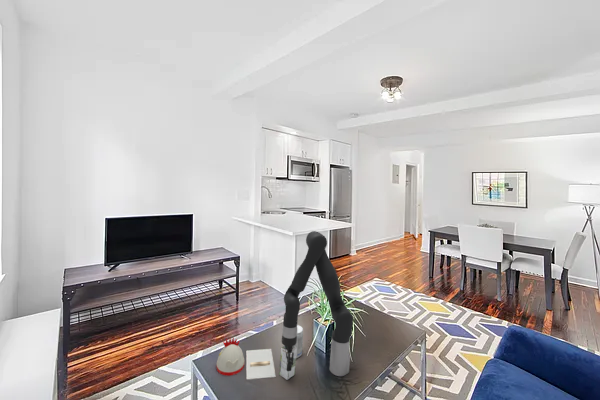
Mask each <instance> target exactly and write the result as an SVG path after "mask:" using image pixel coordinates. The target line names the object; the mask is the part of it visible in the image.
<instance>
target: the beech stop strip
mask: <svg viewBox="0 0 600 400" xmlns="http://www.w3.org/2000/svg"><path fill="white" fill-rule="evenodd" d="M266 365H270V361H264V362H251V363H250V367H253V366H266Z"/></svg>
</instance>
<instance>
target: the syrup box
mask: <svg viewBox="0 0 600 400" xmlns="http://www.w3.org/2000/svg"><path fill="white" fill-rule="evenodd" d="M285 348H287V347H285V346H284V345H283V346H282V347H281V348H280V358H279V359H280V360H279V370H278V371H279V373H278V374H279V376H280V377H282V378H283V379H285V380H287V381H289V380H290V379H291V378H292V377H293V376H295V374H296V364H297V358H296V354H297V348H296V347H295V346H293V350H292V352H293V353H294V357H293V365H292V367H291V371H287V359H286V352H287V350H286V352H285ZM287 356H288V353H287Z"/></svg>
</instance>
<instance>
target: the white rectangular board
mask: <svg viewBox="0 0 600 400" xmlns="http://www.w3.org/2000/svg"><path fill="white" fill-rule="evenodd" d="M245 354H246V359H245V360H246V361H245V362H246V365H245V367H246V368H245V369H246V380H247V381H250V380H260V379H271V378H276V377H277V376H276V371H275V363H274V358H273V352H272V348H265V349H264V348H263V349H251V350H249V349H248V350H246V353H245ZM264 361H270V365H266V366H253V367H250V363H251V362H264Z"/></svg>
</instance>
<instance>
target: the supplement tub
mask: <svg viewBox="0 0 600 400" xmlns="http://www.w3.org/2000/svg"><path fill="white" fill-rule="evenodd" d="M303 336H304V328H303V327H302V326H301V325H299V324H297V343H296V344H295V345H294V346H295V347H296V348H297V354H296V359H297V358H299V357H301V356H302V354H303V340H304V339H303V338H304V337H303Z"/></svg>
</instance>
